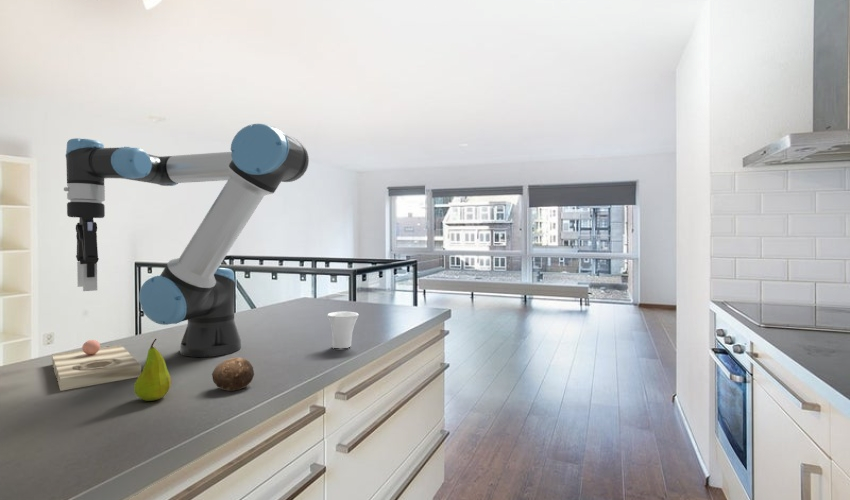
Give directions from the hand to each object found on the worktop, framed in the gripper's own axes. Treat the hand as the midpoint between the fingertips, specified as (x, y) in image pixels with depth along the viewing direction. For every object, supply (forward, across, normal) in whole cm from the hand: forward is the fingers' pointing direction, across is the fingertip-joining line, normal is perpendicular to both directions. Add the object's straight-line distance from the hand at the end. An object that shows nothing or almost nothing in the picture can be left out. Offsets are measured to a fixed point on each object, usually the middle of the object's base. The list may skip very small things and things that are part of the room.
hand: (87, 288), depth 111 cm
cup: (+18, +32, +55) cm, 67 cm away
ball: (+14, +7, 0) cm, 15 cm away
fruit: (+18, +42, +6) cm, 46 cm away
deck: (+18, +13, 0) cm, 22 cm away
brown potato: (+18, +45, +20) cm, 53 cm away
